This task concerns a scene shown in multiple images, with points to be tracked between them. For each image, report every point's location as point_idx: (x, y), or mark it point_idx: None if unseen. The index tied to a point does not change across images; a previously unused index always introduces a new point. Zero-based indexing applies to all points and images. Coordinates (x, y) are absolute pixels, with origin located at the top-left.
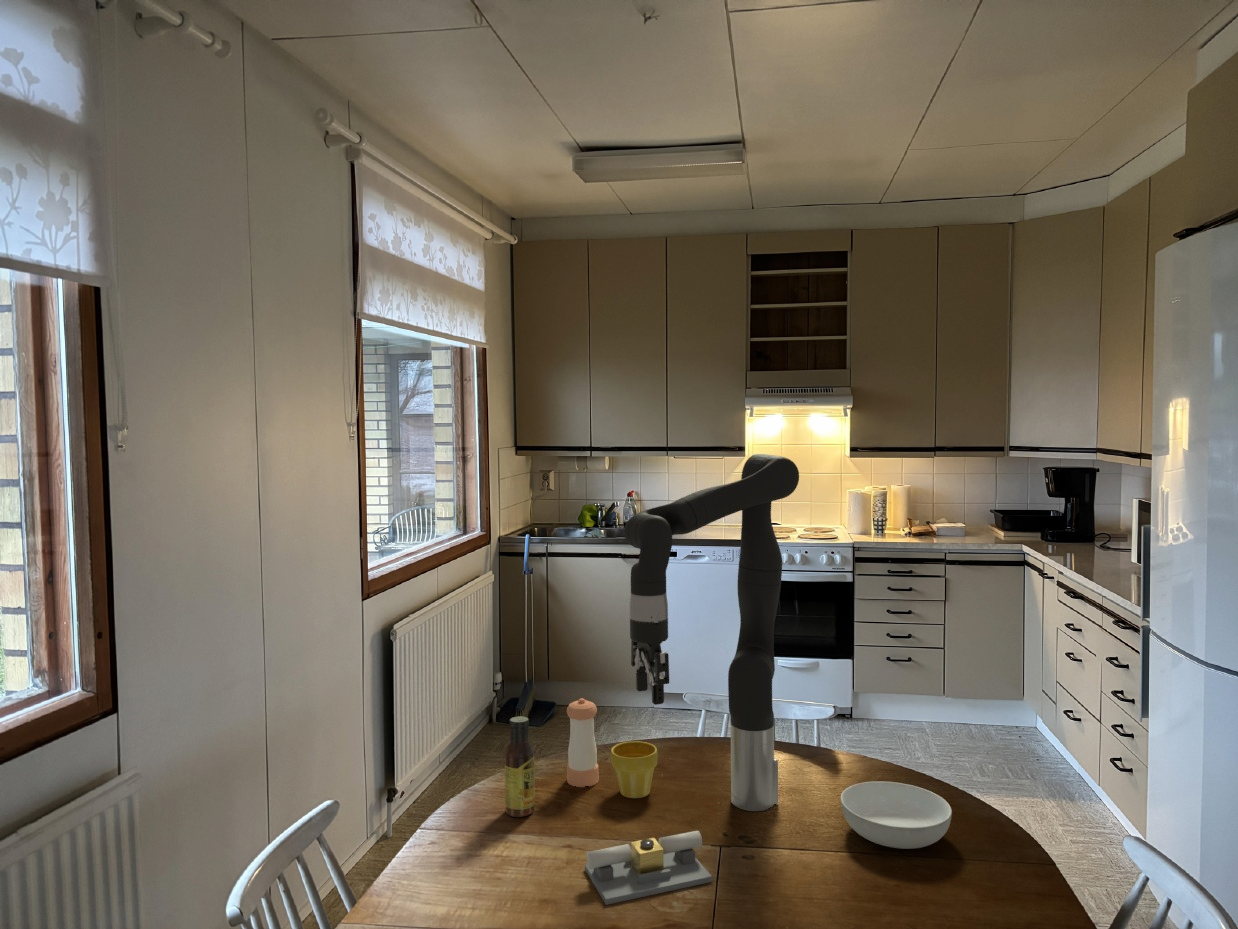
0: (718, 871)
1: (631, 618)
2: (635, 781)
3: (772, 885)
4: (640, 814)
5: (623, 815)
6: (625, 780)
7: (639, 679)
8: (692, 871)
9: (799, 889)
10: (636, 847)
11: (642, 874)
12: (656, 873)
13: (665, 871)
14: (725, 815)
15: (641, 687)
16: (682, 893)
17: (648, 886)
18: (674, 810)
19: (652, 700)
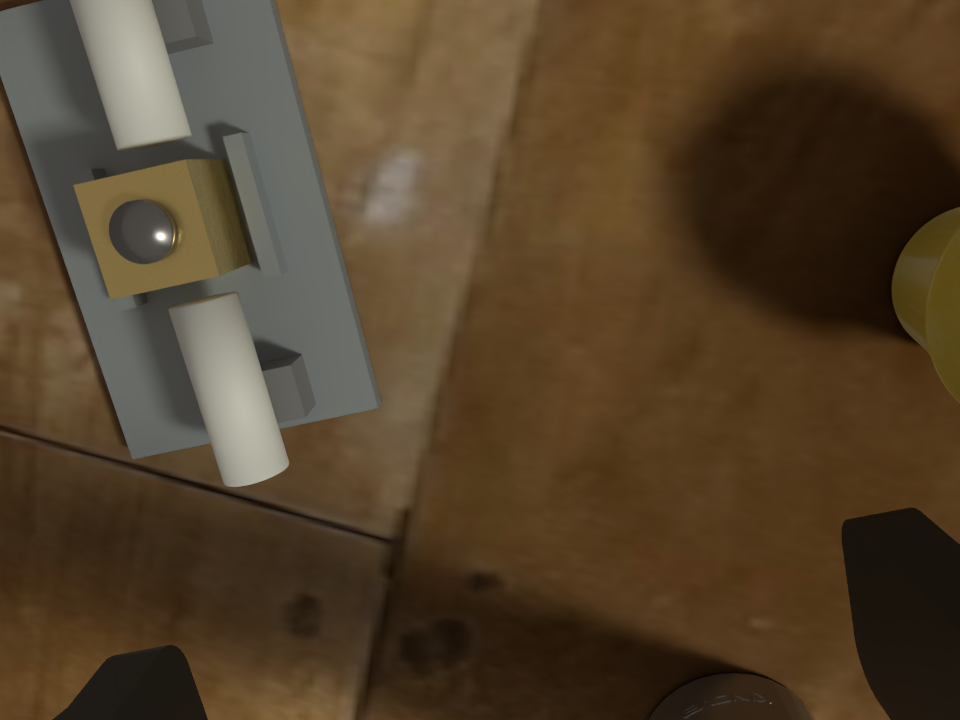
0: (212, 490)
1: None
2: (921, 285)
3: (112, 640)
4: (726, 271)
5: (734, 189)
6: (948, 231)
7: (955, 675)
8: (168, 396)
9: None
10: (132, 177)
11: None
12: None
13: None
14: (639, 620)
15: (873, 610)
16: (70, 331)
17: (69, 206)
18: (730, 429)
19: (126, 670)
